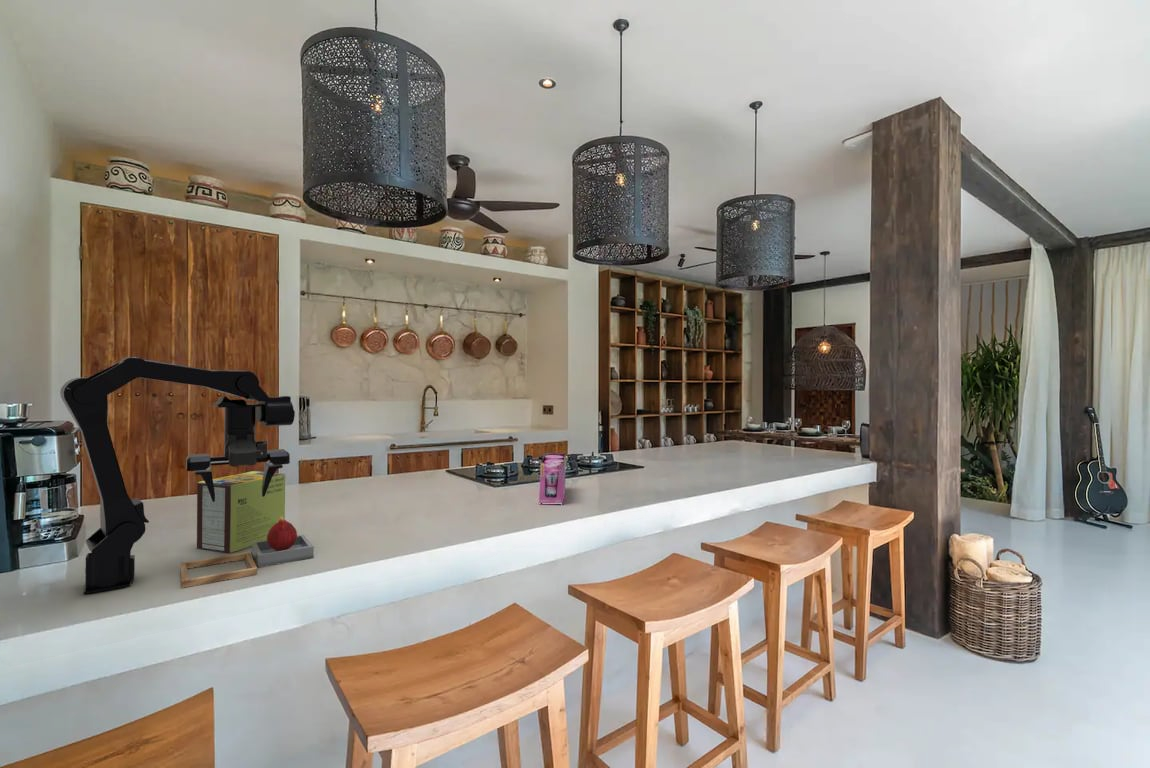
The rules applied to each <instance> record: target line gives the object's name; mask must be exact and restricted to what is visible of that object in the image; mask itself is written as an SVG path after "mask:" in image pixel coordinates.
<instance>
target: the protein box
mask: <svg viewBox="0 0 1150 768" xmlns="http://www.w3.org/2000/svg"><path fill="white" fill-rule="evenodd" d="M263 474H264V471H257V470H256V471H255V470H253V471H248V472H243V473H237V474H233V475H227V476H221V477H216V478H213V484H214V491H215V502H213V501H212V499H211V496H210V493H209V490H208V488H207V485H206V483H205V481H204V480H201V481H198V482H197V490H196V491H197V493H196V549H198V548H201V549H200V550H205V549H207V551H212V550H213V551H212V552H219V551H220V553H227V554H233V553H234V552H237V551H241V550H244V549H246V548H250V547H252V542H258V541H264V540H267V535H268V532H269V530H270V529H271V528H272V526H274V525H275V524H276V523H278V522H279V519H280V517H283V519H284V520H286V473H278V472H277V473H276V472H275V473H274V475H273V477H272V479H271V481H270V484H269V486H268V489H267V492H266V494H265V496H264V497H263V496H262V483H263Z"/></svg>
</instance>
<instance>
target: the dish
mask: <svg viewBox="0 0 1150 768" xmlns="http://www.w3.org/2000/svg"><path fill="white" fill-rule="evenodd" d="M251 555H252V558H253V560H254V562H255V565H256V564H257V565H256V567H257V568H262V567H261V566H263V567H267V566H266V565H269V566H274V565H273V564H275V565H279V564H280V565H281V564H285V562H286V563H291V562H297V561H301V560H309V559H313V558H314V545H313V544H312V542H310V540H309V539H308V537H306V535H304V534H299V535H298V534H297V538H296V541H295V543H294V544H293V545H292V546H291V547H290V548H289V549H287V550H282V551H276V550H274V549H273V548H271V547H270V545H269V544H268V542H267V540H264V541H258V542H252V546H251ZM278 563H279V564H278Z"/></svg>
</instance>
